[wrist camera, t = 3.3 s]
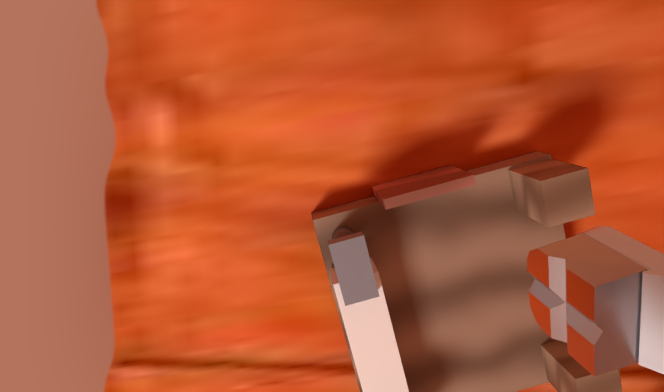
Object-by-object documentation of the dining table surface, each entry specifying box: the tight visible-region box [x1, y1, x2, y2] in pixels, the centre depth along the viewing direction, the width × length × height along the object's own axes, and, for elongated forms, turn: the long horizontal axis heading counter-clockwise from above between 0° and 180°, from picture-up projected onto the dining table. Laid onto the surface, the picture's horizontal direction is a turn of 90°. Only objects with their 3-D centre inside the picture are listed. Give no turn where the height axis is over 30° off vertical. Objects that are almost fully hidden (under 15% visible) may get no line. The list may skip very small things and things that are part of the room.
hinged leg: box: [328, 232, 409, 392], centre depth 40 cm, size 15×4×5 cm, turn 15°
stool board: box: [311, 151, 622, 392], centre depth 42 cm, size 21×20×8 cm
